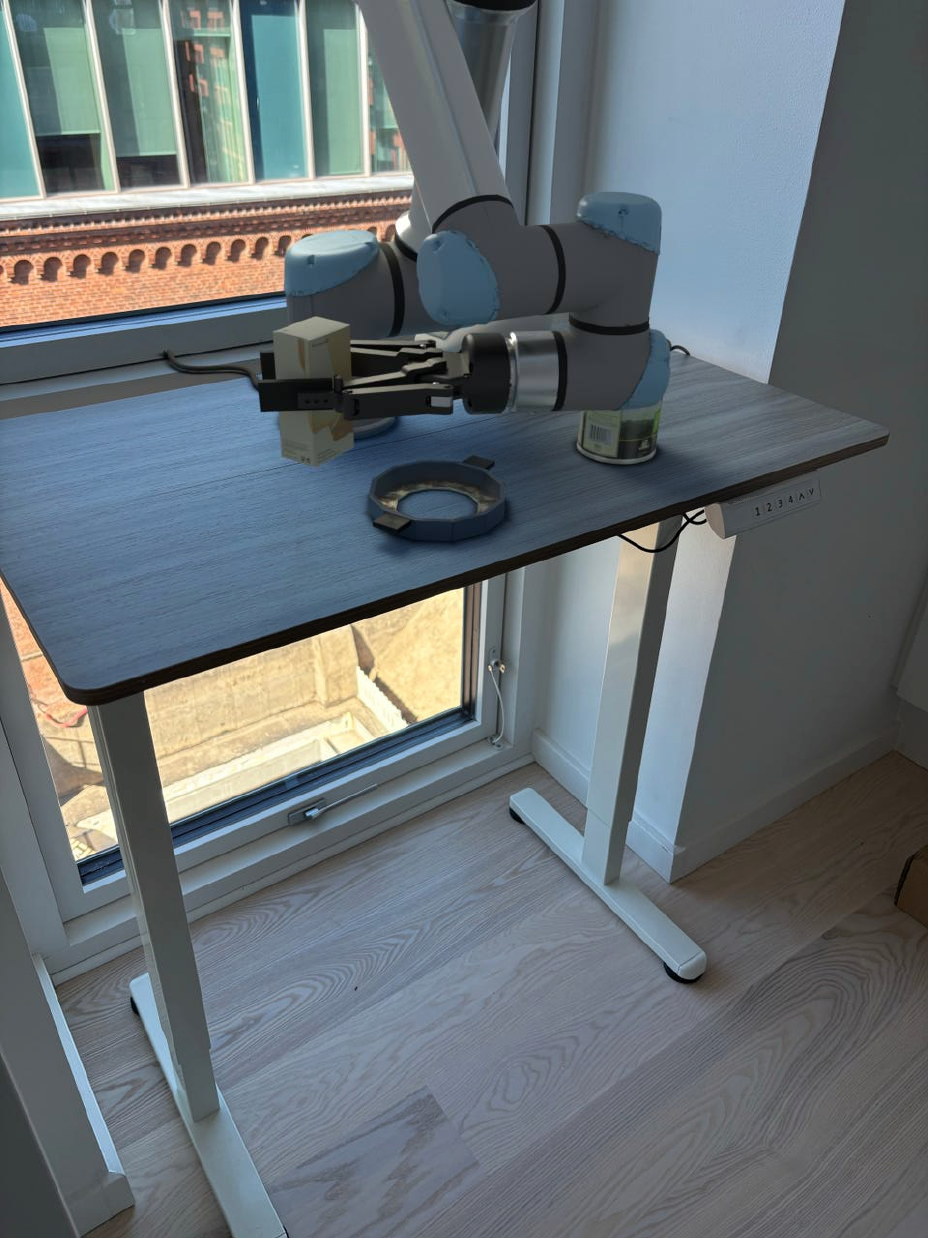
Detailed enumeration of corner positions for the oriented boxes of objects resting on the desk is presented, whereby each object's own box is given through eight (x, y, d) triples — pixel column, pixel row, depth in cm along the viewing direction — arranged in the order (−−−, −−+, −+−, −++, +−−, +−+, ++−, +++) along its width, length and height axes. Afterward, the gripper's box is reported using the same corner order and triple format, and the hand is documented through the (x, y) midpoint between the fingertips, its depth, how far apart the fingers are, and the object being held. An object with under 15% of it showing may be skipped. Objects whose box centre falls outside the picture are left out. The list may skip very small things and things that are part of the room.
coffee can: (657, 436, 129) (672, 331, 121) (654, 469, 120) (670, 358, 112) (580, 428, 130) (590, 323, 122) (571, 460, 122) (582, 350, 114)
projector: (410, 322, 166) (410, 232, 158) (541, 322, 168) (548, 234, 160) (415, 367, 148) (415, 268, 140) (563, 366, 150) (571, 269, 142)
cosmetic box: (315, 469, 91) (307, 340, 84) (280, 458, 92) (268, 331, 85) (357, 446, 95) (352, 322, 88) (322, 435, 97) (314, 313, 90)
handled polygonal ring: (328, 525, 106) (327, 505, 105) (430, 460, 121) (430, 442, 120) (445, 565, 100) (445, 545, 99) (538, 491, 114) (539, 473, 113)
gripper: (523, 453, 86) (261, 464, 83) (485, 374, 102) (265, 380, 99) (529, 371, 82) (253, 379, 79) (488, 302, 98) (258, 306, 95)
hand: (260, 380), depth 89 cm, fingers closed on cosmetic box, 7 cm apart
